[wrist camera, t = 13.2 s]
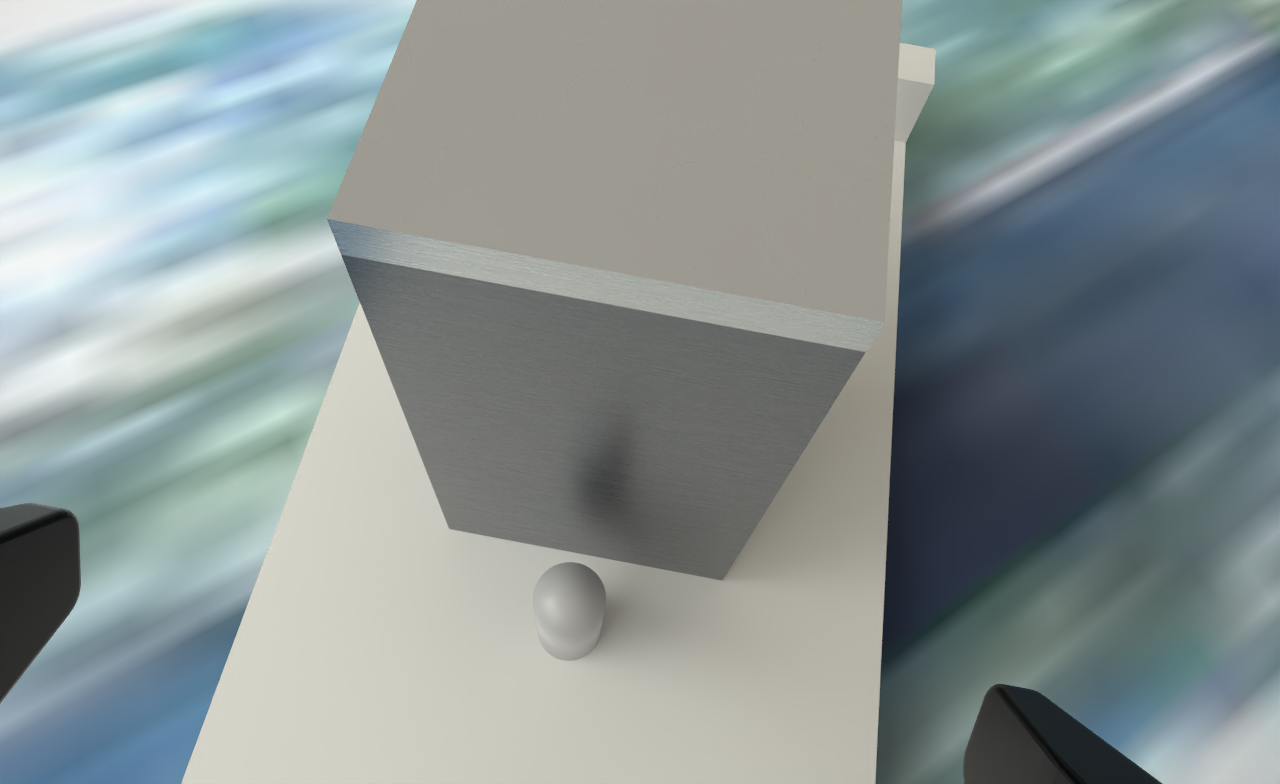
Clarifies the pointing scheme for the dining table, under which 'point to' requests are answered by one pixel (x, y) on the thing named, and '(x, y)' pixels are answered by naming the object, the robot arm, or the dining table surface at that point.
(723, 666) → the tray
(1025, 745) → the robot arm
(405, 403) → the block
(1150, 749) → the dining table surface
